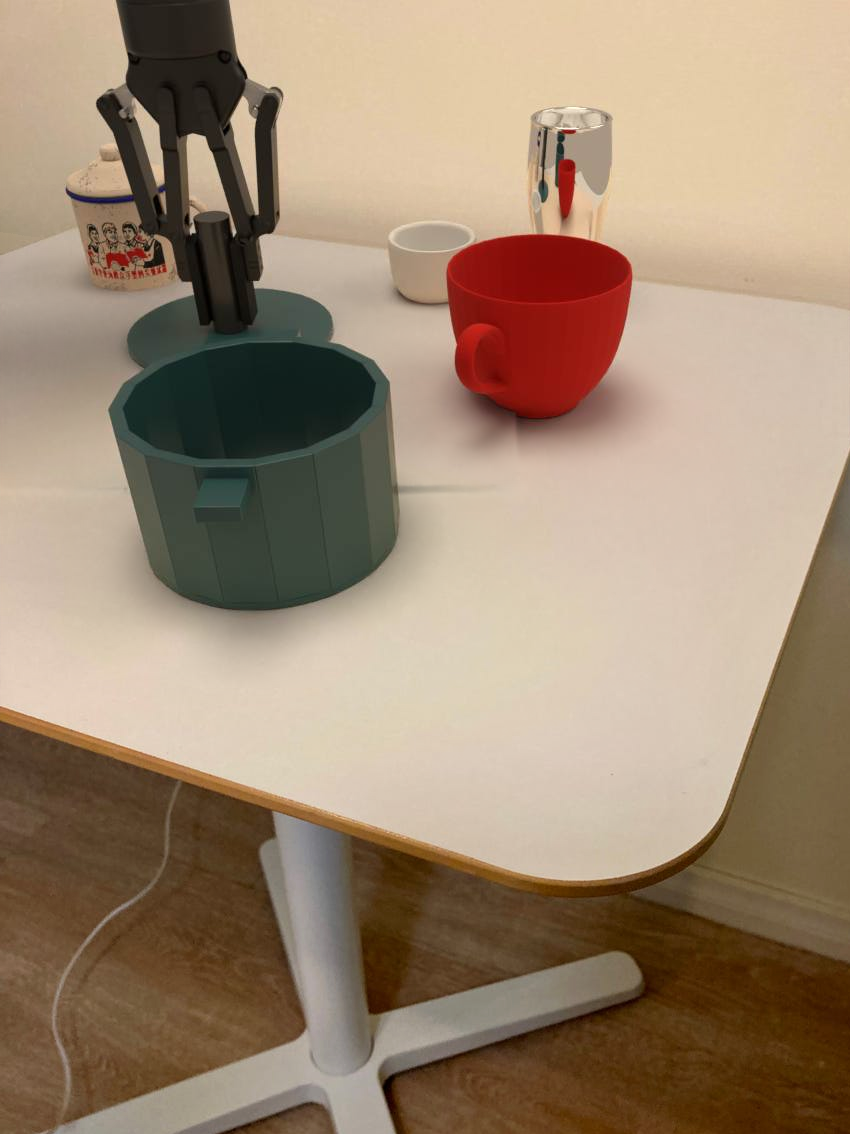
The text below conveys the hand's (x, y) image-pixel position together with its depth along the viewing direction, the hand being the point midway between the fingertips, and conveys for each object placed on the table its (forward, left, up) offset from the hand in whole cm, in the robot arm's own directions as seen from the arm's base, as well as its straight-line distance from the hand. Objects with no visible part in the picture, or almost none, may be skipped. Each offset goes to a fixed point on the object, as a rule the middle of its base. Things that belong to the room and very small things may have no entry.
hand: (229, 318), depth 85 cm
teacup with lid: (-10, +14, -2) cm, 17 cm away
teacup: (+16, +10, -2) cm, 19 cm away
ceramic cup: (+24, -12, -2) cm, 27 cm away
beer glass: (+28, +8, -2) cm, 29 cm away
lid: (0, 0, -1) cm, 1 cm away
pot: (+8, -28, -2) cm, 29 cm away
